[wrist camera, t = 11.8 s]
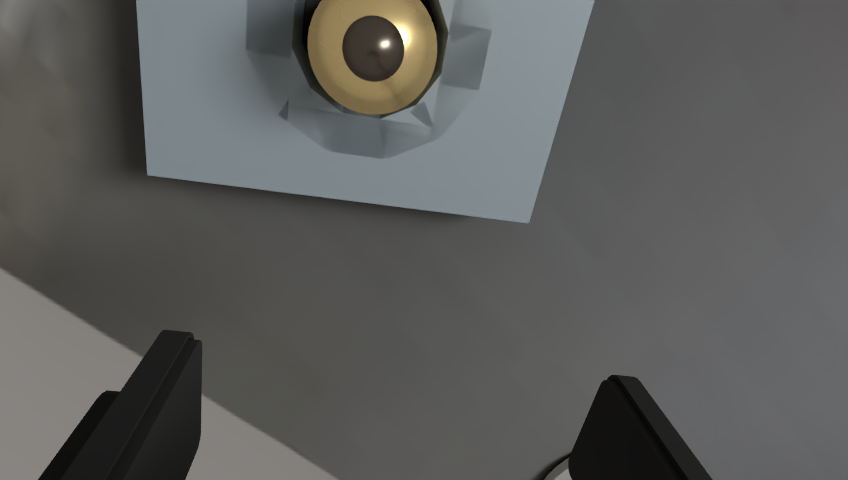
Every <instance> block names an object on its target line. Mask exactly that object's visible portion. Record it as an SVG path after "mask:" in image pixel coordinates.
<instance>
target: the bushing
mask: <svg viewBox="0 0 848 480" xmlns="http://www.w3.org/2000/svg"><path fill="white" fill-rule="evenodd" d="M308 54H309V59H310V63H311V66H312V69H313V72H314V74H315V76H316V78H317V80H318V82H319V83H320V85H321V86H322V87H323V89H324V90H325V91H326V92H327V93H328V95H329V96H331V97H332V98H333V99H334V100H335V101H336V102H338V103H339V104H341V105H342V106H344V107H346V108H348V109H350V110H353V111H356V112H359V113H363V114H371V115H378V114H386V113H391V112H394V111H397V110H399V109H401V108H403V107H405V106H407V105H408V104H410V103H411V102H412V101H414V100H415V99H416V98H417V97H418V96H419V95H420V94H421V93H422V92H423V90H424V89H425V87H426V86H427V84H428V82H429V80H430V79H431V76H432V74H433V71H434V68H435V64H436V58H437V38H436V32H435V28H434V25H433V22H432V19H431V17H430V15H429V13H428V11H427V9H426V8H425V6H424V5H423V4H422V2H421V1H420V0H322V1H321V2H320V3H319V5H318V7H317V8H316V10H315V12H314V14H313V17H312V19H311V23H310V26H309V32H308Z"/></svg>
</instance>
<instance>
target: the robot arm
mask: <svg viewBox="0 0 848 480" xmlns="http://www.w3.org/2000/svg"><path fill="white" fill-rule="evenodd" d="M201 386H202V342H201V341H200V340H194V336H193V333H191V332H181V331H171V330H163V331H162V332H161V333H160V334H159V336H158V337H157V339H156V340H155V341H154V343H153V344H152V346H151V347H150V349H149V350H148V352H147V353H146V355H145V356H144V358H143V359H142V361H141V362H140V364H139V365H138V366H137V368H136V369H135V371H134V372H133V374H132V375H131V377H130V378H129V380H128V381H127V383H126V384H125V386H124V387H123V388H122V390H121V391H120V392H118V391H105V392H104V393H102V394H101V395H100V396H99V397H98V398H97V399H96V401H95V402H94V404H93V405H92V406H91V408H90V409H89V411H88V412H87V413H86V415H85V416H84V417H83V419H82V420H81V421H80V423H79V424H78V426H77V427H76V428H75V430H74V431H73V432H72V434H71V435H70V437H69V438H68V439H67V441H66V442H65V443H64V445H63V446H62V448H61V449H60V450H59V452H58V453H57V454H56V456H55V457H54V459H53V460H52V461H51V463H50V464H49V465H48V467H47V468H46V469H45V471H44V472H43V474H42V475H41V476H40V478H39V479H38V480H185V479H186V476H187V474H188V471H189V469H190V466H191V464H192V462H193V459H194V456H195V454H196V452H197V449H198V446H199V441H200V436H201ZM544 480H712V478H711V477H710V476H709V474H708V473H707V472H706V470H705V469H704V468H703V466H702V465H701V464H700V462H699V461H698V459H697V458H696V457H695V455H694V454H693V453H692V451H691V450H690V449H689V447H688V446H687V444H686V443H685V442H684V440H683V439H682V438H681V436H680V435H679V434H678V432H677V431H676V430H675V428H674V427H673V425H672V424H671V423H670V421H669V420H668V419H667V417H666V416H665V415H664V413H663V412H662V411H661V409H660V408H659V406H658V405H657V404H656V402H655V401H654V400H653V398H652V397H651V396H650V394H649V393H648V392H647V390H646V389H645V387H644V386H643V385H642V383H641V382H640V381H639V380H638V379H637V378H635V377H630V376H620V375H611V376H610V377H608V379H607V380H604V381H603V382H602V383H601V385H600V387H599V389H598V391H597V394H596V396H595V398H594V401H593V403H592V405H591V408H590V410H589V412H588V415H587V417H586V419H585V422H584V424H583V426H582V429H581V431H580V433H579V436H578V438H577V440H576V443H575V445H574V447H573V450H572V452H571V454H570V457H569V458H568V459H566V460H565V461H563V462H562V463H560V464H559V465H558V466H556V467H555V468H554V469H553V470H552V471H551V472H550V473H549V474H548V475H547V476H546V478H545V479H544Z"/></svg>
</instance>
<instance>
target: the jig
mask: <svg viewBox="0 0 848 480" xmlns="http://www.w3.org/2000/svg"><path fill="white" fill-rule="evenodd" d="M305 1H306V0H136V7H137V22H138V38H139V53H140V69H141V85H142V100H143V116H144V132H145V147H146V163H147V175H150V176H158V177H165V178H173V179H181V180H189V181H197V182H205V183H213V184H221V185H229V186H237V187H245V188H253V189H261V190H269V191H276V192H284V193H292V194H300V195H308V196H316V197H324V198H332V199H340V200H348V201H356V202H364V203H372V204H380V205H387V206H395V207H403V208H411V209H419V210H427V211H435V212H443V213H451V214H459V215H467V216H475V217H483V218H491V219H498V220H506V221H514V222H522V223H529V221H530V217H531V214H532V210H533V207H534V204H535V200H536V197H537V194H538V190H539V187H540V183H541V180H542V177H543V173H544V170H545V166H546V163H547V160H548V156H549V153H550V149H551V146H552V143H553V139H554V136H555V132H556V129H557V126H558V122H559V119H560V116H561V112H562V109H563V105H564V102H565V99H566V95H567V92H568V88H569V85H570V82H571V78H572V75H573V71H574V68H575V65H576V61H577V58H578V54H579V51H580V48H581V44H582V41H583V38H584V34H585V31H586V27H587V24H588V21H589V17H590V14H591V10H592V7H593V4H594V0H428V1H429V4H430V7H431V11H432V14H433V17H434V20H435V23H436V26H437V32H436V38H437V58H436V64H435V68H434V71H433V74H432V76H431V79H430V80H429V82H428V84H427V86H426V87H425V89H424V90H423V92H422V93H421V94H420V95H419V96H418V97H417V98H416V99H415V100H414V101H412V102H411V103H410V104H408V105H407V106H405V107H403V108H401V109H399V110H397V111H394V112H391V113H386V114H378V115H371V114H363V113H359V112H356V111H353V110H350V109H348V108H346V107H344V106H342V105H341V104H339V103H338V102H336V101H335V100H334V99H333V98H332V97H331V96H329V95H328V93H327V92H326V91H325V90H324V89H323V87H322V86H321V85H320V83H319V82H318V80H317V78H316V76H315V74H314V72H313V69H312V66H311V63H310V59H309V56H308V54H307V52H306V50H305V47H304V45H303V43H302V33H303V18H304V3H305Z"/></svg>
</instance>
